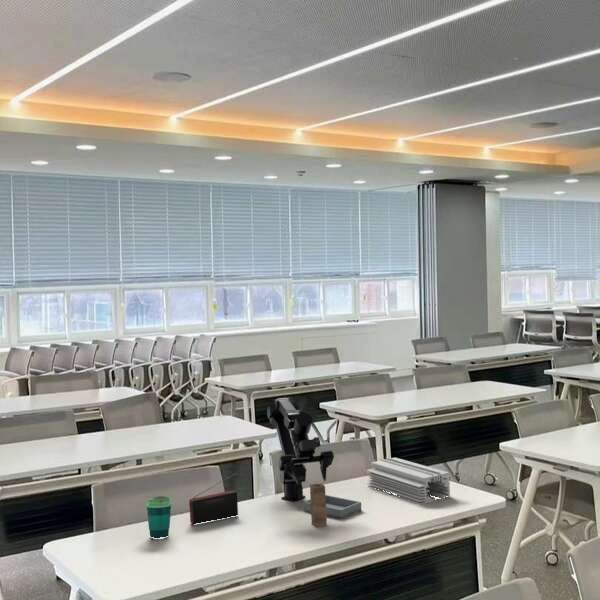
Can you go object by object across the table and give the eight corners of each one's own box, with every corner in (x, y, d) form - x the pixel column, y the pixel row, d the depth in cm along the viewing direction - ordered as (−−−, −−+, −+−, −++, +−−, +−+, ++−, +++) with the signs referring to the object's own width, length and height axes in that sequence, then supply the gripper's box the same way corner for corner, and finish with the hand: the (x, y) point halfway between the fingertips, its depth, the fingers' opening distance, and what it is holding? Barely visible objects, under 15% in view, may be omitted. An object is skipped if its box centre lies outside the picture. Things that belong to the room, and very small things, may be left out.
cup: (142, 539, 252) (140, 502, 252) (156, 531, 260) (154, 495, 259) (164, 541, 249) (162, 503, 249) (177, 532, 257) (176, 496, 256)
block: (311, 523, 260) (309, 484, 259) (323, 522, 261) (321, 483, 260) (315, 527, 256) (313, 487, 256) (326, 525, 257) (325, 486, 257)
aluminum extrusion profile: (419, 505, 275) (418, 477, 275) (367, 487, 301) (366, 461, 301) (450, 497, 283) (449, 470, 282) (396, 480, 309) (395, 455, 308)
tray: (303, 510, 274) (303, 502, 274) (323, 502, 283) (323, 494, 282) (341, 519, 263) (341, 510, 263) (361, 510, 271) (361, 502, 271)
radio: (194, 526, 263) (191, 482, 262) (190, 524, 265) (188, 480, 265) (243, 515, 272) (241, 472, 272) (240, 513, 275) (237, 471, 274)
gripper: (278, 432, 266) (288, 472, 256) (331, 427, 271) (342, 465, 261) (274, 450, 274) (283, 490, 264) (325, 445, 279) (336, 483, 269)
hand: (311, 481), depth 264 cm, fingers open, 9 cm apart
